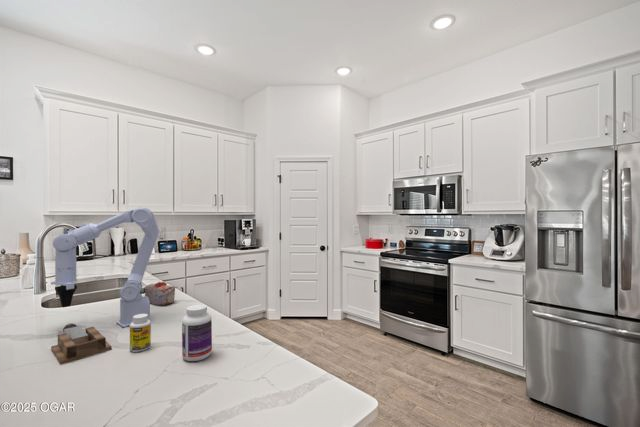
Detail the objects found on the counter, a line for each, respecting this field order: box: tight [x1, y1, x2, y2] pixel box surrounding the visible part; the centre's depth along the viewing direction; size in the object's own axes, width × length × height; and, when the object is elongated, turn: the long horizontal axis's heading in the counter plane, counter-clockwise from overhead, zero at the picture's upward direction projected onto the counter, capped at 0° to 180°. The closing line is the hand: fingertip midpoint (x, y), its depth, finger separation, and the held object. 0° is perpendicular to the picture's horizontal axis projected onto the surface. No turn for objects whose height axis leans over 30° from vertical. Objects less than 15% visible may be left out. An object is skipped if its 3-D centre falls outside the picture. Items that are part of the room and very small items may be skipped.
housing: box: [50, 326, 112, 365], centre depth 92 cm, size 14×12×4 cm
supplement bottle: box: [129, 314, 152, 353], centre depth 93 cm, size 6×6×10 cm
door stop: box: [62, 322, 88, 345], centre depth 98 cm, size 15×4×4 cm, turn 50°
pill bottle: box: [181, 304, 213, 362], centre depth 88 cm, size 8×8×14 cm
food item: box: [144, 281, 176, 306], centre depth 139 cm, size 14×8×10 cm, turn 69°
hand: (66, 306), depth 106 cm, fingers closed
